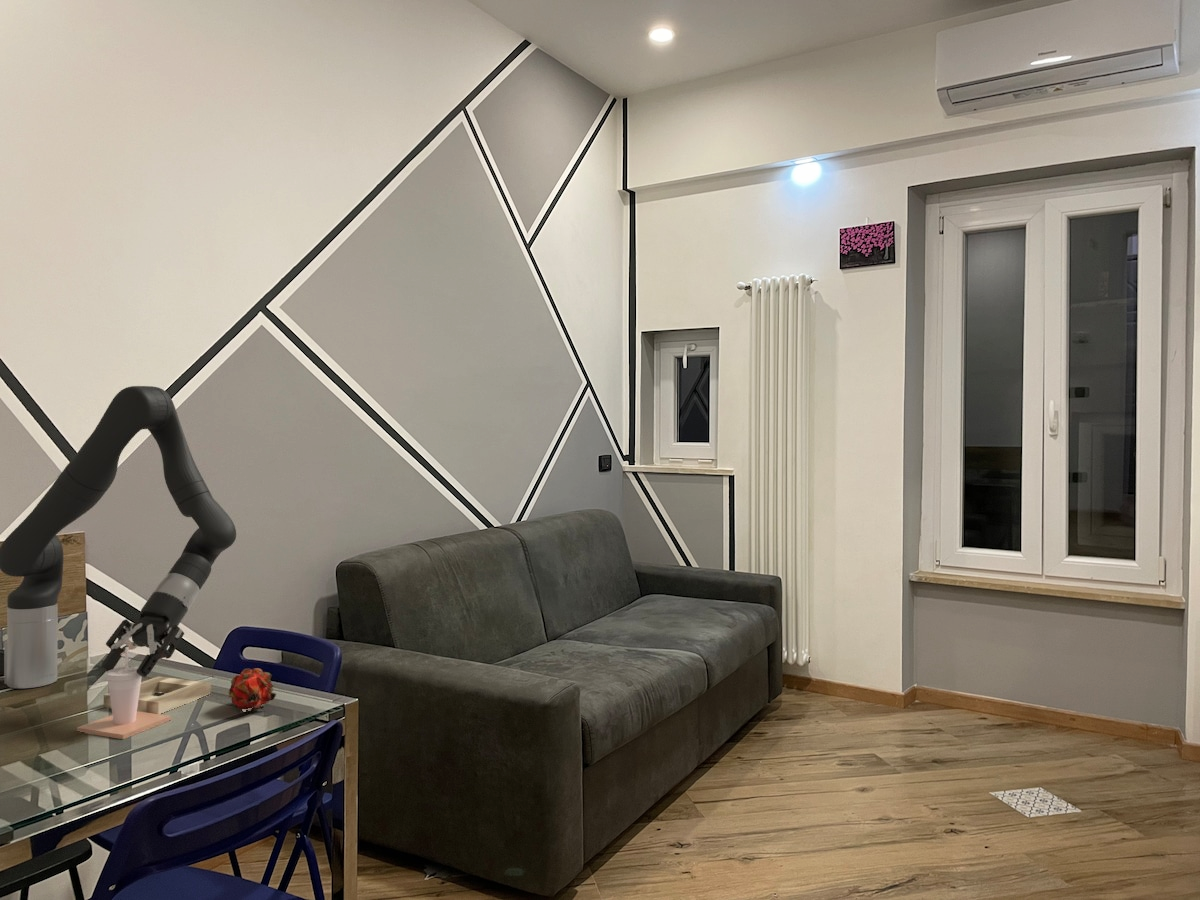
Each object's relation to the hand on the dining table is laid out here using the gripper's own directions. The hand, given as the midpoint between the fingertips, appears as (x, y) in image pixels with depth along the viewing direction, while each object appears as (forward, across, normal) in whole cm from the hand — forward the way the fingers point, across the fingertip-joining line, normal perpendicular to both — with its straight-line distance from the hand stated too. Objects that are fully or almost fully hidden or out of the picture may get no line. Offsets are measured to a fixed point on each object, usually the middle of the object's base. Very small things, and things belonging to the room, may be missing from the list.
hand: (122, 672), depth 162 cm
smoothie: (+6, 0, +7) cm, 10 cm away
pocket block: (-3, -6, +18) cm, 19 cm away
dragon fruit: (-5, +15, +20) cm, 25 cm away
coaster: (+7, 0, +8) cm, 10 cm away
